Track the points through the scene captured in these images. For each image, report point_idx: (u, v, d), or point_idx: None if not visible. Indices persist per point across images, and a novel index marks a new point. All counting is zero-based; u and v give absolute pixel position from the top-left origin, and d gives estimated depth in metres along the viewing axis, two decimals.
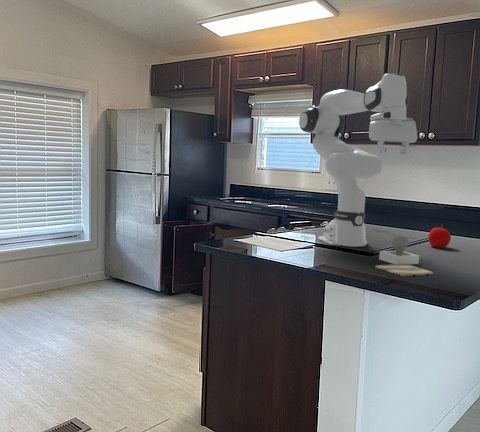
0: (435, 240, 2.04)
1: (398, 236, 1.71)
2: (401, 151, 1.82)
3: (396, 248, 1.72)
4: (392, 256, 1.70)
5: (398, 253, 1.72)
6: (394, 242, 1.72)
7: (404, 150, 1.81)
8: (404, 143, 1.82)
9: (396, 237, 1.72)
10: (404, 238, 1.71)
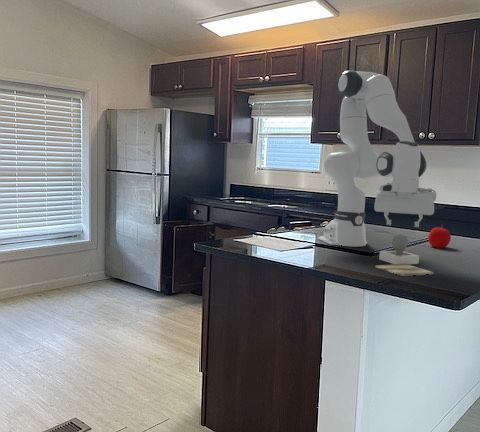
0: (435, 240, 2.04)
1: (398, 236, 1.71)
2: None
3: (396, 248, 1.72)
4: (392, 256, 1.70)
5: (398, 253, 1.72)
6: (394, 242, 1.72)
7: (416, 223, 1.69)
8: None
9: (396, 237, 1.72)
10: (404, 238, 1.71)
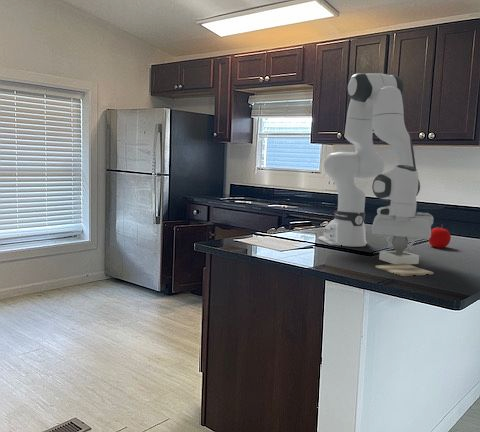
0: (435, 240, 2.04)
1: (398, 236, 1.71)
2: (407, 246, 1.72)
3: (396, 248, 1.72)
4: (392, 256, 1.70)
5: (398, 253, 1.72)
6: (394, 242, 1.72)
7: (408, 246, 1.71)
8: (411, 239, 1.71)
9: (396, 237, 1.72)
10: (404, 238, 1.71)
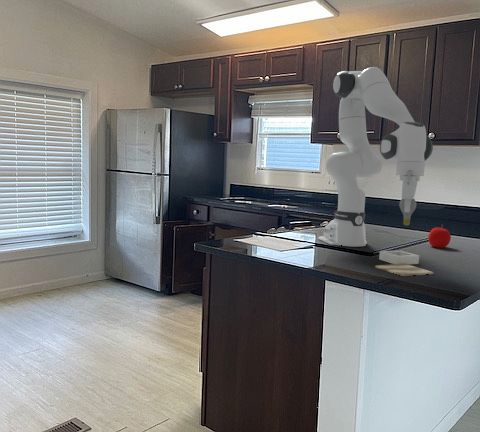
0: (435, 240, 2.04)
1: None
2: None
3: None
4: (392, 256, 1.70)
5: None
6: None
7: None
8: None
9: None
10: (403, 199, 1.61)
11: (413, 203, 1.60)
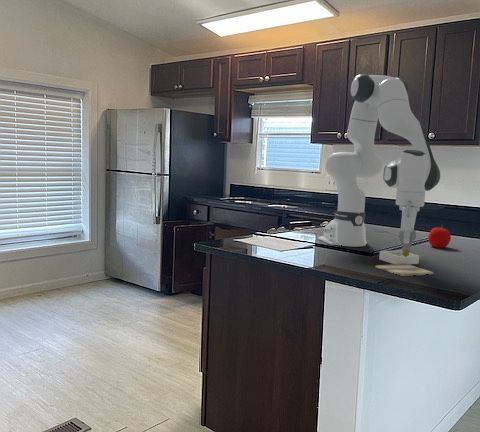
0: (435, 240, 2.04)
1: None
2: None
3: None
4: (392, 256, 1.70)
5: None
6: None
7: None
8: None
9: None
10: None
11: (413, 234, 1.55)
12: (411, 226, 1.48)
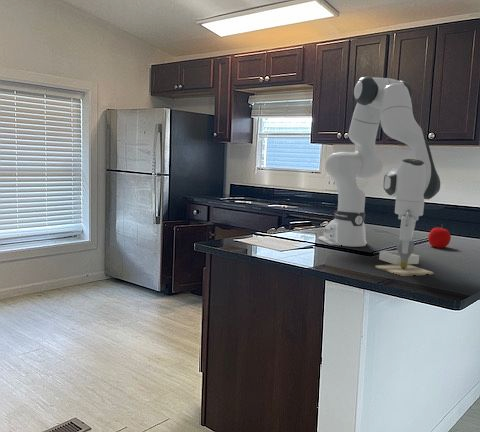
0: (435, 240, 2.04)
1: None
2: None
3: None
4: (392, 256, 1.70)
5: None
6: None
7: (402, 248, 1.55)
8: None
9: None
10: (400, 242, 1.58)
11: (411, 246, 1.56)
12: (410, 236, 1.48)
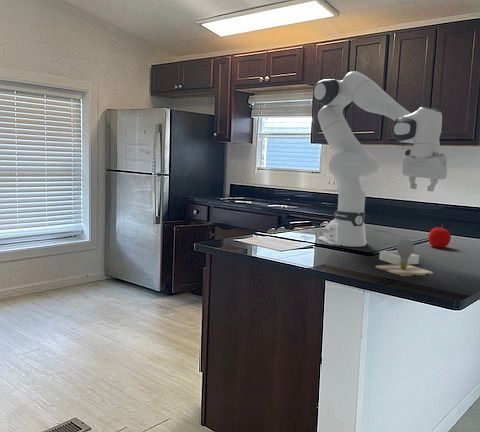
0: (435, 240, 2.04)
1: (401, 240, 1.59)
2: None
3: None
4: (392, 256, 1.70)
5: None
6: None
7: (428, 187, 1.72)
8: None
9: None
10: (400, 242, 1.57)
11: (411, 247, 1.56)
12: (446, 174, 1.67)
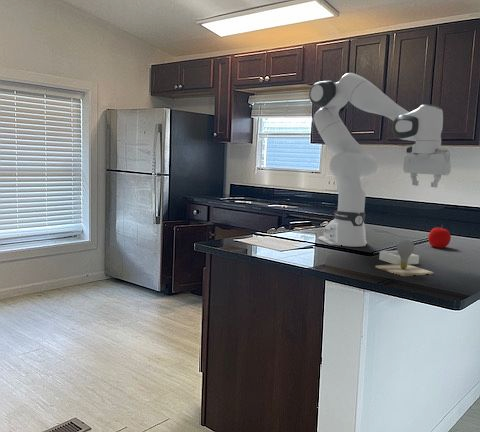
0: (435, 240, 2.04)
1: (400, 240, 1.59)
2: None
3: None
4: (392, 256, 1.70)
5: None
6: None
7: (432, 183, 1.75)
8: None
9: None
10: (400, 242, 1.58)
11: (410, 246, 1.56)
12: (449, 170, 1.70)
